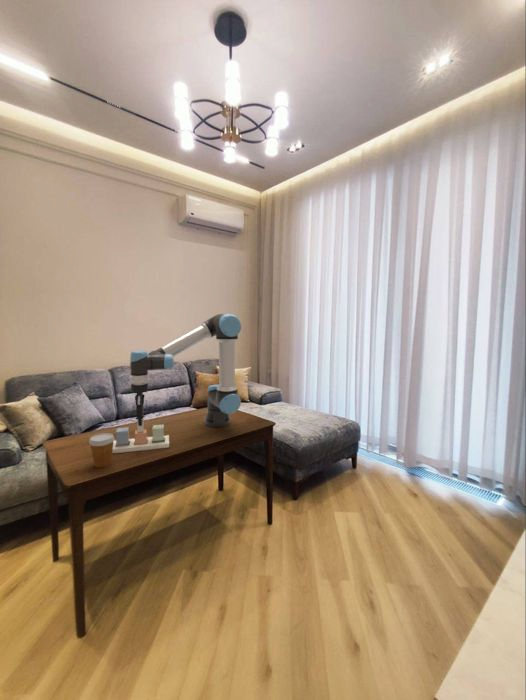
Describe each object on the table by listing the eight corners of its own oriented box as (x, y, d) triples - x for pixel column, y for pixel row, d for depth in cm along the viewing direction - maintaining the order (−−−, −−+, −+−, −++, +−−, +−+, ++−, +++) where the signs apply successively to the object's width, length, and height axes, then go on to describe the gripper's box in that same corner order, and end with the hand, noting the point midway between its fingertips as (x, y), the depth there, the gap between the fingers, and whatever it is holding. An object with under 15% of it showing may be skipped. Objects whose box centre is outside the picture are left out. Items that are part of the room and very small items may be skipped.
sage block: (163, 435, 152) (163, 424, 151) (163, 439, 147) (163, 427, 147) (153, 436, 151) (152, 425, 150) (152, 440, 146) (152, 428, 145)
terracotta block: (146, 441, 150) (146, 429, 149) (146, 445, 145) (145, 433, 144) (135, 442, 148) (135, 430, 148) (134, 446, 144) (134, 434, 143)
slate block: (129, 439, 147) (128, 427, 147) (128, 443, 142) (127, 431, 142) (117, 440, 146) (117, 428, 145) (116, 444, 141) (115, 432, 140)
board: (168, 438, 156) (168, 435, 156) (169, 447, 146) (169, 443, 145) (113, 444, 148) (113, 440, 148) (109, 454, 138) (109, 449, 137)
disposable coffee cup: (96, 459, 133) (95, 432, 131) (118, 458, 133) (118, 432, 132) (85, 470, 123) (84, 441, 122) (109, 469, 124) (108, 441, 123)
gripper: (132, 380, 149) (133, 427, 151) (129, 386, 136) (130, 437, 139) (148, 380, 151) (149, 425, 153) (147, 385, 138) (148, 435, 141)
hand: (140, 431), depth 146 cm, fingers closed
